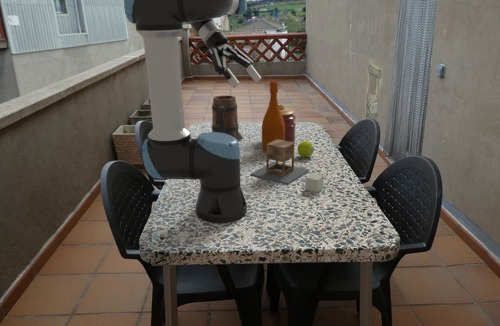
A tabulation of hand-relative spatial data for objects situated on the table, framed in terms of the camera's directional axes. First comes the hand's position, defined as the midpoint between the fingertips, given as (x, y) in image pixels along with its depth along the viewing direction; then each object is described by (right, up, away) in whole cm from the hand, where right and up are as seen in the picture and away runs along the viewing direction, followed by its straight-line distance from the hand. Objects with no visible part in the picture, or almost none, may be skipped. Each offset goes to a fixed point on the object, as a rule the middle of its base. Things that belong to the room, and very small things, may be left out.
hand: (248, 83), depth 139 cm
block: (+22, -37, -6) cm, 44 cm away
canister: (+15, -18, +45) cm, 51 cm away
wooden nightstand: (+12, -31, +7) cm, 34 cm away
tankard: (-12, -17, +49) cm, 53 cm away
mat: (+12, -32, +7) cm, 35 cm away
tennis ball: (+24, -26, +24) cm, 43 cm away
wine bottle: (+11, -23, +32) cm, 41 cm away
